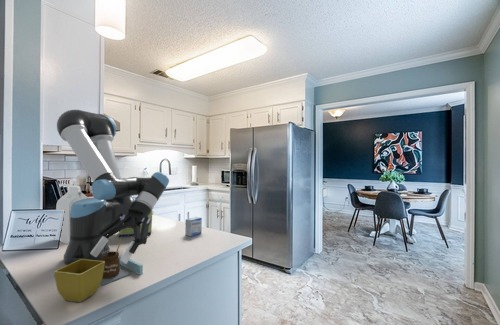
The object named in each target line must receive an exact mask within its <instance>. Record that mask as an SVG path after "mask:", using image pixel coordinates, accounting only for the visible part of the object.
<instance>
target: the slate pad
mask: <svg viewBox="0 0 500 325" xmlns="http://www.w3.org/2000/svg"><path fill="white" fill-rule="evenodd" d="M128 276H131V272H128V271H127V270H125V269H123V268H121V267H120V272H119V274H118V275H116V276H114V277H111V278H102V281H101V283H100V285H99V286H102V287H103V286H105V285H107V284H111V283H112V282H115V281H118V280H120V279H123V278H126V277H128Z"/></svg>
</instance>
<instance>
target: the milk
mask: <svg viewBox="0 0 500 325" xmlns="http://www.w3.org/2000/svg"><path fill="white" fill-rule="evenodd" d="M86 198H89V197H88V196H87V195H85V194H84V193H83V192H82V189H81V186H78V185H69V188H68V191H67V192H66V193H65V194H64V195H62V196H61V197H60V198H59V199H58V200H57V202H56V205H55V206H56V208H55V211H56V210H64V211H65V213H64V221H63V226H62V233H61V242H60V243H63V244H67V245H68V244H69V242H70V210H71V205H72V204H73V203H74V202H76V201H79V200H82V199H86Z"/></svg>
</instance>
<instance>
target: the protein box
mask: <svg viewBox="0 0 500 325" xmlns="http://www.w3.org/2000/svg"><path fill="white" fill-rule="evenodd" d="M148 218H149V219H150V220H151V222H150V224H149V229H148V235H147V236H151V235H152V230H153V229H152V228H153V226H152V225H153V209H152V210H151V212H150V214H149V215H148ZM123 224H124V223H123ZM140 227H141V228H142V223H141V224H140ZM140 234H141V229H140ZM129 237H130V238H131V237H134V231H133V229H132V228H125V229H122V230H120V231H119V232H118V238H129Z"/></svg>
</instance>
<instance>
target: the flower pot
mask: <svg viewBox="0 0 500 325" xmlns="http://www.w3.org/2000/svg"><path fill="white" fill-rule="evenodd" d="M104 265H105V261H101V260H100V261H97V260H87V259H80V260H78V261H75V262H73V263H71V264H69V265H67V264H66V265H65V266H63V267H60V268H58V269H56V270H54V271H53V274H54V278H55V279H54V280H55V285H56V289H57V291H58V294H59V296H61V298H63V299H64V300H65V301H66V302H67V301H69V302H78V303H82V302H83V301H86V299H88V298H90V296H92V295H93V294H95V293H96V292H97V290H98V289H99V288H100V286H101V285H100V283H101V281H102V278H103V272H104Z"/></svg>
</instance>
